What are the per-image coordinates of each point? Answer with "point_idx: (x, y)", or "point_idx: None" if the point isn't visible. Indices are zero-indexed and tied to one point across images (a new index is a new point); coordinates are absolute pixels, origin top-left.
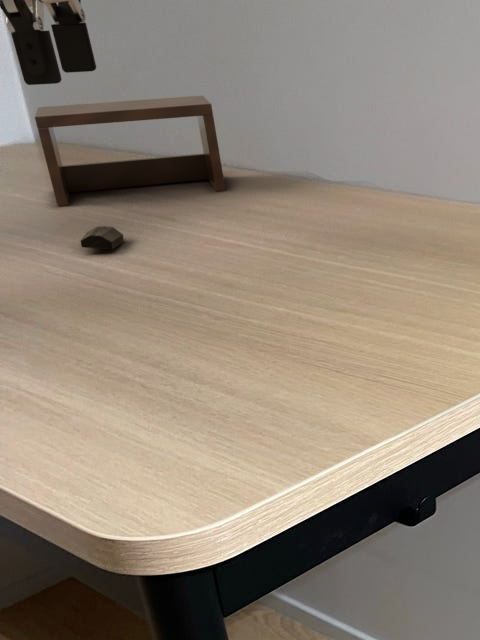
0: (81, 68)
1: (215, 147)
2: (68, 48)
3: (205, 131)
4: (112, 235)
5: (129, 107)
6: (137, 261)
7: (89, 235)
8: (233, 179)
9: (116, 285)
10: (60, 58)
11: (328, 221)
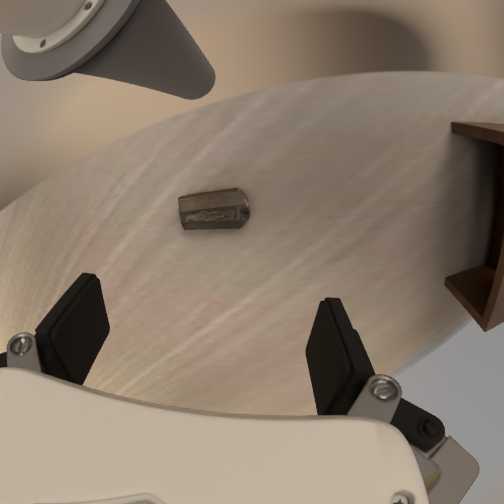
0: (312, 335)
1: (464, 305)
2: (324, 351)
3: (476, 307)
4: (210, 225)
5: None
6: (152, 253)
7: (182, 210)
8: None
9: (82, 251)
10: (328, 315)
11: (275, 373)
